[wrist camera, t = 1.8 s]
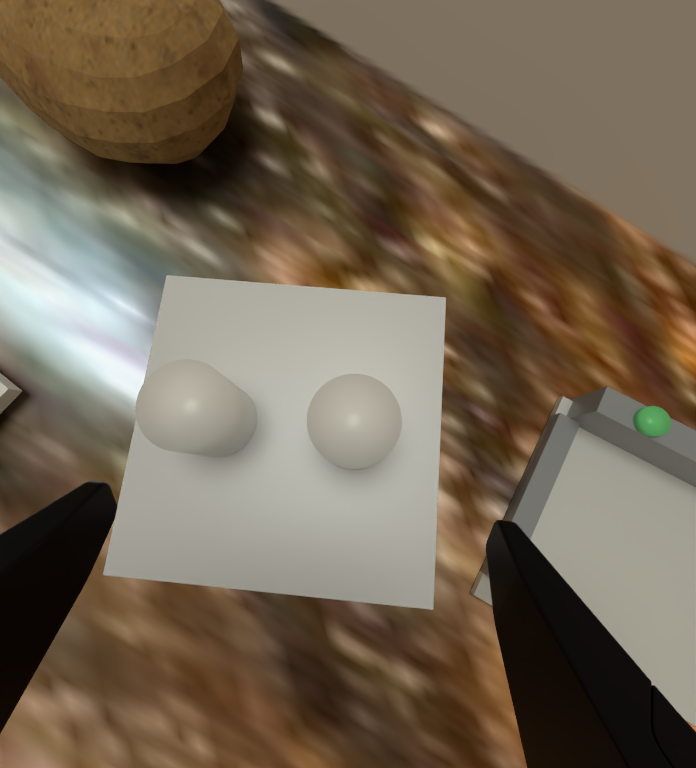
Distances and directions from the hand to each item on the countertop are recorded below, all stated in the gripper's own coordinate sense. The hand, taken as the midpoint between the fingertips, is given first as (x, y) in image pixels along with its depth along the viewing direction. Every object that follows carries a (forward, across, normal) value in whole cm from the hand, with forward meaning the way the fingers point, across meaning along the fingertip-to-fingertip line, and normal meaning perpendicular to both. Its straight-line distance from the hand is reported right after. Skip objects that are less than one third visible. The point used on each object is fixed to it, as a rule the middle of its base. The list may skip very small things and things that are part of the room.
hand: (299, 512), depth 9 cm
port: (+6, -14, +8) cm, 17 cm away
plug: (+8, 0, +6) cm, 9 cm away
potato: (+21, +12, -7) cm, 26 cm away
